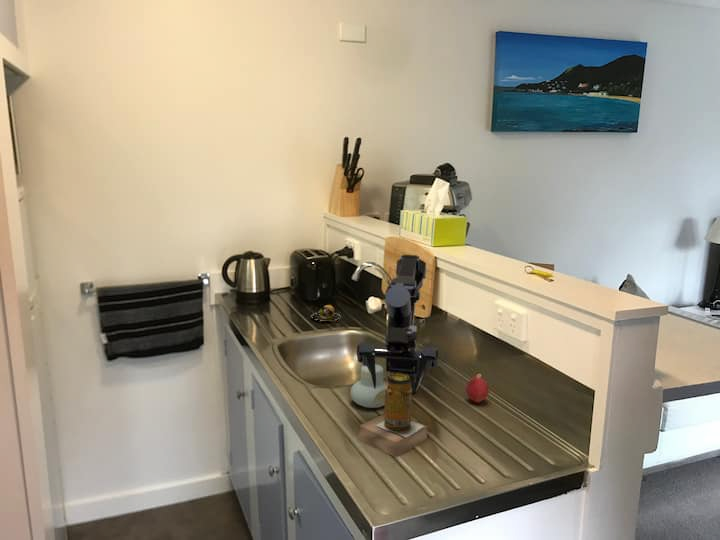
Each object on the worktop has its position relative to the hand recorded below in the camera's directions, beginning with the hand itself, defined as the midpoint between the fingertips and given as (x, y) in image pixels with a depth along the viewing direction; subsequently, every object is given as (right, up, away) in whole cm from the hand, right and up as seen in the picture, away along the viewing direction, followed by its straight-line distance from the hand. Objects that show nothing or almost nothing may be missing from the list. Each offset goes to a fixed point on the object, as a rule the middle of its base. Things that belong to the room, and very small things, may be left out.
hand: (395, 389), depth 132 cm
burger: (-21, +7, +95) cm, 98 cm away
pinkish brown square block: (0, -13, +3) cm, 13 cm away
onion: (+23, -9, +24) cm, 35 cm away
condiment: (+1, -9, +2) cm, 9 cm away
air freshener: (-5, -8, +22) cm, 24 cm away
